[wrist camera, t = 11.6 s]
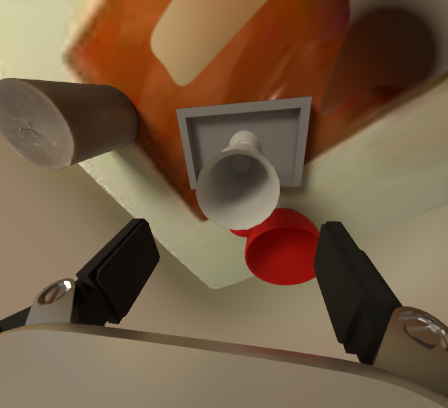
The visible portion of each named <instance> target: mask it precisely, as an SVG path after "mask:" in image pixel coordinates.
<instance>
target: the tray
mask: <svg viewBox="0 0 448 408" xmlns="http://www.w3.org/2000/svg"><path fill="white" fill-rule="evenodd" d="M311 101H312V97H300V98H289V99H279V100H268V101H258V102H247V103H237V104H226V105H215V106H205V107H194V108H184V109H176V112H177V117H178V123H179V128H180V133H181V139H182V144H183V149H184V155H185V160H186V166H187V171H188V176H189V182H190V187H191V189H196V182H197V180H198V177H199V174H200V171H201V170H202V168H203V167H204V166H205V164H206V163H207V162H208V161H209V160H210V159H211V158H213V157H214V156H216V155H217V154H219V153H220V152H221V151H222V150H224V149H225V148H227V147H228V146H229V143H230V140H231V138H232V137H233V136H234V135H235V134H236V133H238V132H240V131H250V132H252V133H254V134H255V136H256V137H257V138H258V140H259V145H260V147H259V150H260V151H261V153H262V154H263V155H264V156H265V158H266V160H267V161H268V162H269V163H270V164H271V165H272V166H273V167H274V169H275V171H276V174H277V176H278V178H279V185H280V187H301V181H302V173H303V165H304V157H305V149H306V141H307V133H308V125H309V117H310V109H311Z"/></svg>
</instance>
